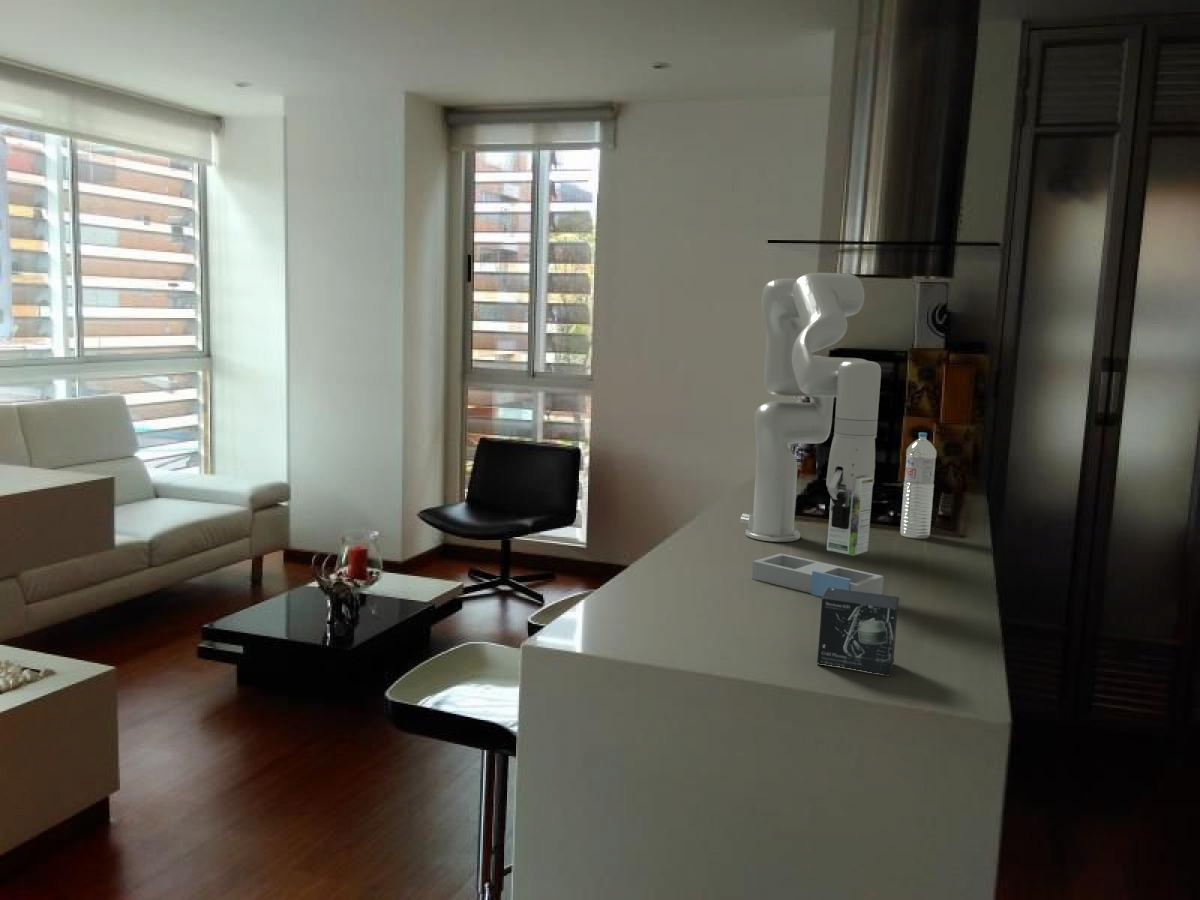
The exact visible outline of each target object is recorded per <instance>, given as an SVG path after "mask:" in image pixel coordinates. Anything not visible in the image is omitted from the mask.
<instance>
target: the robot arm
mask: <svg viewBox="0 0 1200 900" xmlns="http://www.w3.org/2000/svg"><path fill="white" fill-rule="evenodd" d="M864 302H865V288H864V285H863V282H862V281H861V280H860V278H858V276H857V275H853V274H851V273H837V272H835V273H834V272H833V273H832V272H809V273H806V274H803V275H801V276H800V277H798V278H778V279H773V280H770V281H769V282H767V284H765V286H764V288H763V291H762V295H761V312H762V317H763V321H764V326H765V330H766V344H765V345H766V346H765V360H764V374H763V375H764V376H763V379H764V381H763V383H764V384H763V385H764V388H765V390H766V392H767V393H768V394H771V395H773V396H780V397H802V398H803V397H804V398H805V397H807V398H809V401H810V402H804V401H803V402H800V401H799V402H796V401H769V402H764V403H763V404H760V406H758V408H757V409H756V411H755V413H754V418H753V419H754V432H755V444H756V450H755V451H756V457H755V478H754V494H753V495H754V496H753V510H752V511H753V512H752V514H751V513H742V515H741V516H740V518H739V521H740V523H743V524H744V523H745V524H748V527H747V528H746V529H745V535H746V537H749V538H751V539H753V540H759V541H763V542H773V543H774V542H775V543H784V542H785V543H788V542H794V541H795V542H796V541H798V540H799V539H800V538H801V533H800V532H799V531H798V530H796V529H794V527H795V514H796V501H797V500H796V497H797V480H798V460H797V457H796V456H795V454H794V453H793V451H792V450H791V449H790V448H789V445H790V444H805V445H807V444H809V445H810V444H815V445H816V444H823V443H824V442H826V441H828V438H829V437H830V434H831V431H832V430H831V429H832V423H833V413H835V414H834V415H835V417H834V428H833V430H834V432H833V437H832V441H831V447H830V451H829V457H828V464H827V473H826V481H825V482H826V487H827V492H828V493H829V495H830V496H829V497H830V499H832V506H833V510H832V526H833V527H837V528H842V529H848V528H849V515H850V507H848V503H849V499H850V495H851V492H852V491H854V489H855V484H856V479H857V478H858V477H861V476H873V485H874V484H875V470H876V438H877V436H878V435H877V433H878V419H879V403H880V391H881V390H880V389H881V378H882V373H881V372H882V368H881V365H880V364H879V363H878V362H876V361H871V360H867V359H864V358H860V357H858V358H857V357H839V356H838V357H837V356H835V357H833V356H822V355H817V354H816V355H813V353H815V352H818V351H821V350H823V349H825V348H828V347H830V346H833V345H835V344H837V343H838V342H840V340H842V338H843V337H844V336H845V335H846V333H847V330H848V321H847V318H848V317H851V316H854V315H857V314H858V313H859V312H860V311H861V310H862V308H863V305H864ZM797 318H798V319H800V322H801V324H800V322H799V321H798V319H797ZM834 399H836V400H835V401H834ZM834 402H835V412H833V411H834V410H833V409H834ZM839 486H842V487H846V488H845V489H846V490H845V489H839ZM840 493H843V494H845V496H844V498H843V496H842V494H840Z"/></svg>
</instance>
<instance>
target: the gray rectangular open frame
mask: <svg viewBox="0 0 1200 900" xmlns="http://www.w3.org/2000/svg"><path fill="white" fill-rule="evenodd" d="M751 572H752V573H751V579H752V580H756V581H760V582H764V583H768V584H772V585H777V586H779V587H784V588H787V589H792V590H795V591H800V592H804V593H809V594H810V595H812V596H816V597H819V598H823V594H824V592H825V591H826V589H827V588H836V589H843V590H850V591H858V592H865V593H872V594H879V595H883V589H884V587H883V586H884V576H883V575H881V574H875V573H871V572H866V571H862V570H857V569H854V568H853V569H852V568H849V567H844V566H839V565H835V564H830V563H827V562H822V561H817V560H812V559H808V558H805V557H804V558H803V557H800V556H796V555H795V556H794V555H789V554H785V553H777V554H773V555H770V556H767V557H766V556H765V557H763V558H758V559H755V560H753V561H752V571H751Z"/></svg>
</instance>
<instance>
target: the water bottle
mask: <svg viewBox="0 0 1200 900" xmlns="http://www.w3.org/2000/svg"><path fill="white" fill-rule="evenodd" d="M927 436H928V433H927V432H918V439H916V440H914V441H913V442H912V443H911V444H910V445H909V446H908V447H907V448H906V453H905V454H906V455H905V456H906V459H905V471H904V481H903V490H902V492H903V493H902V504H901V516H900V518H901V519H900V531H899V532H900V535H901V536H902V537H905V538H910V539H915V540H916V539H917V540H924V539H928V538H929V537H930V534H931V525H932V522H931V521H932V513H933V512H932V511H933V500H934V499H933V498H934V490H935V489H934V488H935V483H934V482H935V470H936V460H937V459H936V458H937V454H938V453H937V449H936V448H935V446H934V445H933V443H932V442H930V440H928V439H927Z"/></svg>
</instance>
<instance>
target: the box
mask: <svg viewBox="0 0 1200 900" xmlns="http://www.w3.org/2000/svg"><path fill="white" fill-rule="evenodd" d="M899 601H900V597H899V596H895V595H894V596H893V595H885V594H882V595H879V594H872V593H865V592H858V591H850V590H843V589H836V588H827V589H826V591H825V592H824V594H823V597H821V608H820V609H821V611H820V621H819V622H820V624H819V635H818V636H819V637H818V639H819V640H818V647H817V648H818V651H817V662H816V664H817V663H819V664H826V665H832V666H840V667H845V668H851V669H856V670H862V671H867V672H872V673H879V674H884V675H890V674H892V672H893V668H892V667H894V665H893V663H894V662H895V661H894V660H895V648H896V646H895V645H896V634H897V624H898V623H897V621H898V613H899V611H898V610H899ZM891 671H892V672H891ZM890 676H891V675H890Z"/></svg>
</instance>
